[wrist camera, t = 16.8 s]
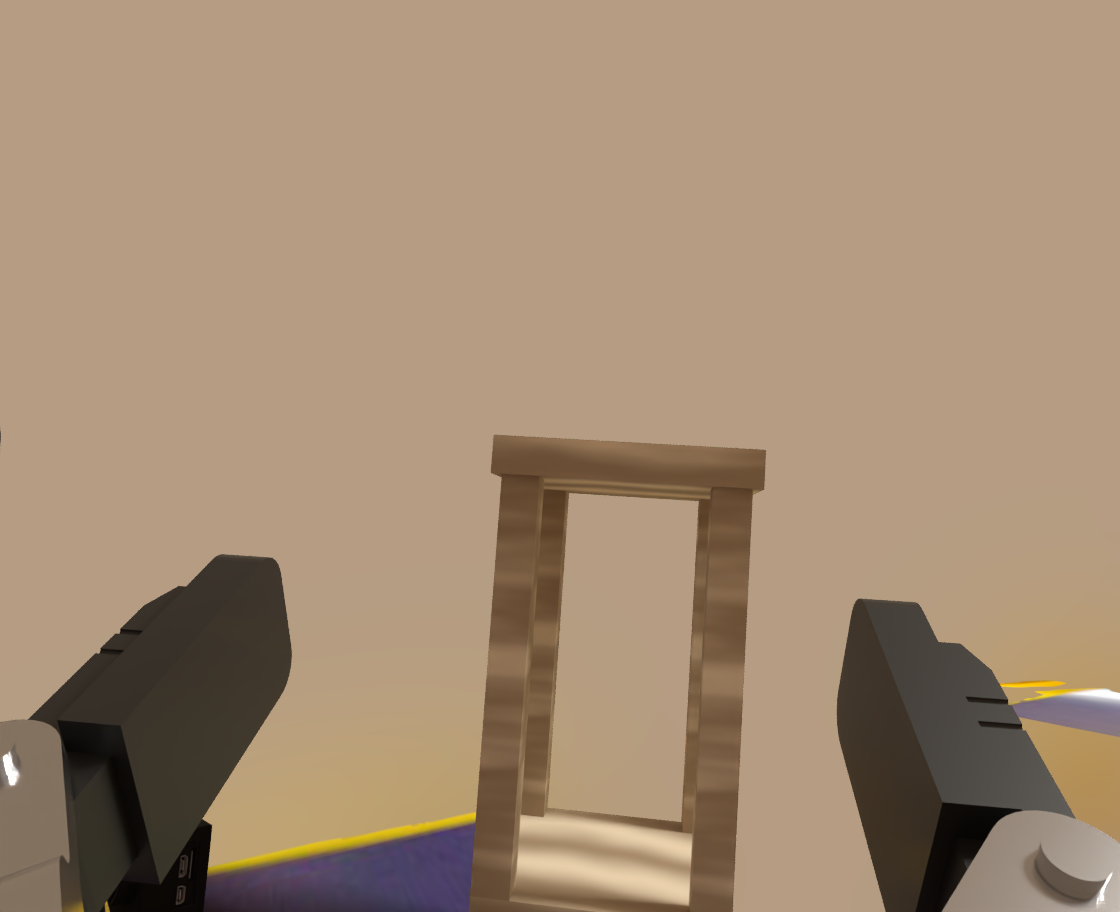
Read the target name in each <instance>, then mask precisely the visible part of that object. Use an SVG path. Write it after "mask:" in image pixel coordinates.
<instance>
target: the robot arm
mask: <svg viewBox="0 0 1120 912" xmlns="http://www.w3.org/2000/svg"><path fill="white" fill-rule="evenodd" d="M0 435H1V433H0ZM0 440H1V436H0ZM291 658H292V650H291V642H290V635H289V628H288V620H287V613H286V606H285V599H284V592H283V585H282V578H281V572H280V568H279V565H278V564H277V562H276V561H275V560H274V559H273V558H267V557H252V556H239V555H224V554H222V555H218V556H216V557H215V558H214V559H213V560H212V561H211V562H210V563H209V564H208V565H207V566H206V567H205V568H204V569H203V570H202V571H201V572H200V573H199V574H198V575H197V576H196V577H195V578H194V579H193V580H192V581H191V583H189V584H188V585H187V586H186V587H183V586H178V587H177V588H175V589H173V590H171V591H169V592H167V593H166V594H164V595H162V596H160V597H158V598H157V599H155V600H153V601H151V602H149V603H148V604H146V605H144V606H143V607H142V608H141V609H140V610H139V611H138V612H137V613H136V614H135V615H134V616H133V617H132V618H131V619H130V620H129V621H128V622H127V623H126V624H125V625H124V626H123V627H122V628H121V629H120V634H115V635H114V636H113V637H112V638H111V639H110V640H109V641H108V642H106V644H105V645H103V646H102V648H101V651H100V653H99V654H97V653H96V654H94V655H93V656H92V657H91V658H90V659H89V660H88V661H87V662H86V663H85V664H84V665H83V666H82V667H81V668H80V669H79V670H78V671H77V672H76V673H75V674H74V675H73V676H72V677H71V678H70V679H69V680H68V681H67V682H66V683H65V684H64V685H63V686H62V687H61V688H60V689H59V690H58V691H57V692H56V693H55V694H54V695H53V696H52V697H51V698H50V699H48V701H46V703H44V704H43V705H42V706H41V707H40V708H39V709H38V710H37V711H36V712H35V713H34V714H33V715H32V716H31V717H30V718H29V719H28V720H12V721H5V722H0V912H110V910H109V907H108V903H107V900H108V899H109V897H110V896H111V894H112V893H113V891H114V890H115V889H116V887H117V886H118V884H119V883H120V881H131V882H140V883H149V884H158V885H160V884H161V883H162V881H163V879H164V878H165V876H166V875H167V873H168V872H169V870H170V868H171V867H172V865H173V864H174V862H175V861H176V859H177V858H178V856H179V854H180V853H181V851H182V850H183V848H184V847H185V845H186V843H187V842H188V840H189V839H190V837H191V836H192V834H193V832H194V831H195V829H196V828H197V826H198V825H199V823H200V821H201V820H202V818H203V817H204V815H205V814H206V812H207V810H208V809H209V807H210V806H211V804H212V803H213V801H214V800H215V798H216V796H217V795H218V793H219V792H220V790H221V789H222V787H223V785H224V784H225V782H226V781H227V779H228V778H229V776H230V774H231V773H232V771H233V770H234V768H235V766H236V765H237V763H238V762H239V760H240V759H241V757H242V756H243V754H244V753H245V751H246V749H247V748H248V746H249V745H250V743H251V742H252V740H253V738H254V737H255V735H256V734H257V732H258V730H259V729H260V727H261V726H262V724H263V723H264V721H265V719H266V718H267V716H268V715H269V713H270V711H271V710H272V709H273V707H274V705H275V704H276V702H277V701H278V699H279V698H280V696H281V694H282V693H283V691H284V688H285V686H286V684H287V681H288V677H289V673H290V668H291ZM837 726H838V734H839V740H840V744H841V748H842V751H843V755H844V759H845V763H846V767H847V770H848V774H849V778H850V781H851V785H852V789H853V792H854V796H855V800H856V803H857V807H858V810H859V814H860V818H861V822H862V826H863V829H864V832H865V837H866V840H867V844H868V848H869V851H870V855H871V859H872V863H873V866H874V870H875V874H876V877H877V881H878V885H879V888H880V892H881V895H882V899H883V903H884V907H885V910H886V912H1120V843H1119V842H1117V841H1116V840H1114V839H1113V838H1111V837H1110V836H1108V835H1107V834H1105V833H1104V832H1102V831H1100V830H1098V829H1096V828H1095V827H1093V826H1091V825H1088V824H1086V823H1084V822H1082V821H1079V820H1077V819H1076V818H1075V816H1074V815H1073V813H1072V811H1071V809H1070V808H1069V806H1068V804H1067V802H1066V801H1065V799H1064V797H1063V795H1062V794H1061V792H1060V790H1059V788H1058V786H1057V785H1056V783H1055V781H1054V779H1053V778H1052V776H1051V774H1050V773H1049V771H1048V769H1047V767H1046V765H1045V764H1044V762H1043V760H1042V759H1041V757H1040V755H1039V753H1038V751H1037V750H1036V748H1035V746H1034V744H1033V742H1032V741H1031V739H1030V737H1029V735H1028V734H1027V732H1026V731H1023V730H1022V723H1021V721H1020V720H1019V718H1018V716H1017V714H1016V713H1015V711H1014V709H1013V707H1012V706H1011V705H1008V699H1007V697H1006V695H1005V693H1004V691H1003V690H1002V688H1001V686H1000V684H999V683H998V681H997V679H996V677H995V676H994V674H993V672H992V670H991V669H989V668H988V667H987V666H986V665H985V664H983V663H982V662H981V661H980V660H979V659H978V658H977V657H975V656H974V655H973V654H972V653H971V652H969V651H968V650H967V649H966V648H965V647H964V646H962V645H961V644H957V643H942V642H938V640H937V639H936V636H935V635H934V633H933V630H932V628H931V626H930V624H929V622H928V620H927V618H926V616H925V614H924V612H923V610H922V608H921V607H920V605H919V604H918V603H915V602H901V601H886V600H872V599H858V600H857V601H856V603H855V604H854V607H853V610H852V615H851V620H850V626H849V632H848V638H847V644H846V649H845V656H844V661H843V667H842V673H841V679H840V685H839V690H838V698H837Z"/></svg>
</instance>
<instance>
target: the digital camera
mask: <svg viewBox="0 0 1120 912" xmlns="http://www.w3.org/2000/svg"><path fill="white" fill-rule="evenodd" d="M211 831H212V825H211V824H209V823H207V822H206V821H204V820H203V819H202V820H201V821H200V823H199V825H198V826H197V828H196V829H195V831H194V832H193V834H192V836H191V837H190V839H189V840H188V842H187V843H186V845H185V847H184V848H183V850H182V851H181V853H180V854H179V856H178V858H177V859H176V861H175V862H174V864H173V865H172V867H171V868H170V870H169V872H168V873H167V875H166V876H165V878H164V879H163V881H162V883H161V884H160V885H158V884H149V883H140V882H131V881H120V883H119V884H118V886H117V887H116V889H115V890H114V891H113V893H112V894H111V896H110V897H109V899H108V900H107V903H108V907H109V910H110V912H203V908H204V899H205V889H206V880H207V871H208V861H209V852H210V842H211Z"/></svg>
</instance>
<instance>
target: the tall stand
mask: <svg viewBox="0 0 1120 912" xmlns="http://www.w3.org/2000/svg"><path fill="white" fill-rule="evenodd" d="M765 457H766V450H757V449H739V448H720V447H703V446H685V445H668V444H650V443H649V444H648V443H632V442H614V441H595V440H577V439H560V438H559V439H558V438H542V437H541V438H540V437H524V436H506V435H494V439H493V452H492V464H491V473H493V474H495V475H498V476H500V477H502V481H501V494H500V508H499V520H498V534H497V547H496V560H495V574H494V586H493V600H492V613H491V626H490V639H489V653H488V654H489V655H488V666H487V679H486V692H485V705H484V719H483V732H482V745H481V746H482V747H481V758H480V772H479V785H478V798H477V811H476V824H475V838H474V851H473V864H472V877H471V891H470V904H469V912H733V890H734V871H735V848H736V829H737V808H738V788H739V787H738V786H739V766H740V745H741V724H742V704H743V683H744V662H745V641H746V621H747V619H746V618H747V601H748V580H749V559H750V558H749V557H750V537H751V517H752V496H753V495H754V494H756V493H758V492H760V491H762V490H764V480H765V459H766V458H765ZM569 493H578V494H594V495H610V496H626V497H641V498H658V499H673V500H674V499H675V500H690V501H699V506H698V525H697V527H698V528H697V544H696V562H695V581H694V600H693V619H692V636H691V656H690V673H689V692H688V710H687V711H688V712H687V729H686V748H685V766H684V786H683V803H682V822H674V821H665V820H656V819H646V818H637V817H628V816H619V815H609V814H601V813H591V812H582V811H573V810H564V809H554V808H547V807H548V792H549V778H550V762H551V747H552V734H553V719H554V704H555V689H556V675H557V660H558V645H559V630H560V616H561V601H562V587H563V572H564V558H565V543H566V526H567V513H568V499H569Z"/></svg>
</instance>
